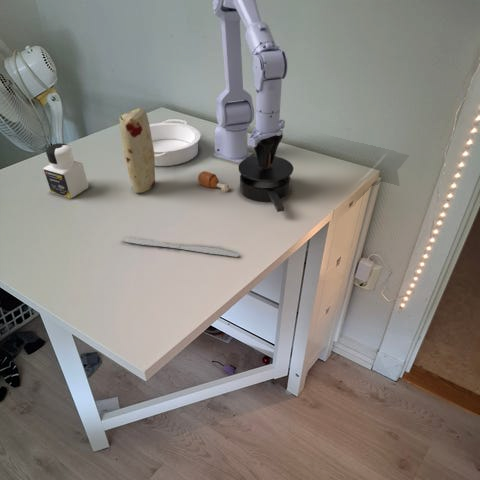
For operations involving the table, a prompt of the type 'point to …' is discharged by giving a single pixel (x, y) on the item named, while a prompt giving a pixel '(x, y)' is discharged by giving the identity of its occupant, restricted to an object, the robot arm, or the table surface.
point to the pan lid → (266, 169)
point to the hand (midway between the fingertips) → (265, 164)
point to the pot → (174, 142)
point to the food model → (138, 149)
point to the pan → (263, 190)
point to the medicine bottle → (64, 171)
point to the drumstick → (211, 181)
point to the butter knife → (181, 247)
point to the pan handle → (276, 201)
